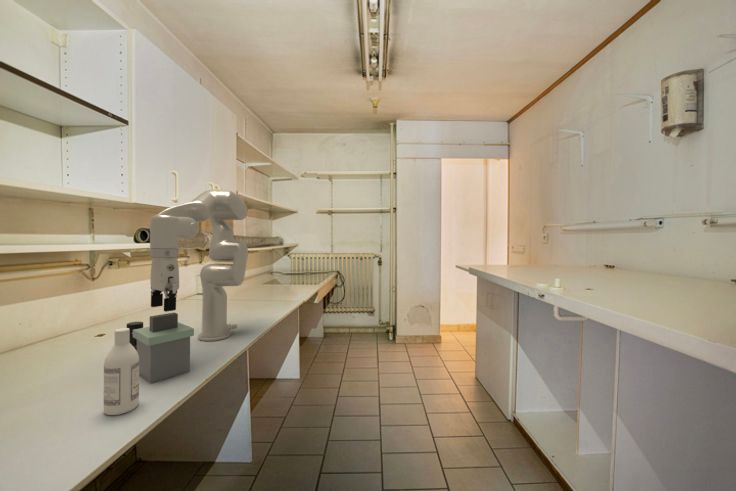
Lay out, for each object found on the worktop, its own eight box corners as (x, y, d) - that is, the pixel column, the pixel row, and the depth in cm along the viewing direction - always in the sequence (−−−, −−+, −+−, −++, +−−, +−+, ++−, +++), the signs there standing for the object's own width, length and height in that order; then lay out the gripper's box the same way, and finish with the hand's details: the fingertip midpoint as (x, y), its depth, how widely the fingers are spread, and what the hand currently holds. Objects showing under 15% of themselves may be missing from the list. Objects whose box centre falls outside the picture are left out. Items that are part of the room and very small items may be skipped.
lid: (176, 328, 107) (176, 308, 107) (193, 335, 100) (194, 314, 100) (132, 337, 97) (132, 315, 97) (148, 346, 90) (148, 322, 90)
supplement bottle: (133, 361, 107) (133, 326, 107) (117, 359, 108) (117, 324, 108) (150, 353, 114) (151, 321, 113) (135, 352, 115) (135, 319, 115)
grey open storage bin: (174, 362, 106) (175, 324, 106) (189, 371, 100) (190, 331, 100) (136, 373, 98) (136, 332, 97) (150, 383, 91) (150, 339, 91)
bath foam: (134, 398, 83) (135, 323, 82) (142, 408, 78) (143, 329, 78) (100, 408, 77) (101, 329, 77) (106, 419, 73) (107, 335, 73)
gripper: (189, 255, 96) (188, 310, 96) (165, 253, 106) (164, 303, 106) (162, 255, 90) (161, 314, 90) (139, 253, 100) (138, 306, 100)
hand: (163, 308), depth 98 cm, fingers open, 9 cm apart
